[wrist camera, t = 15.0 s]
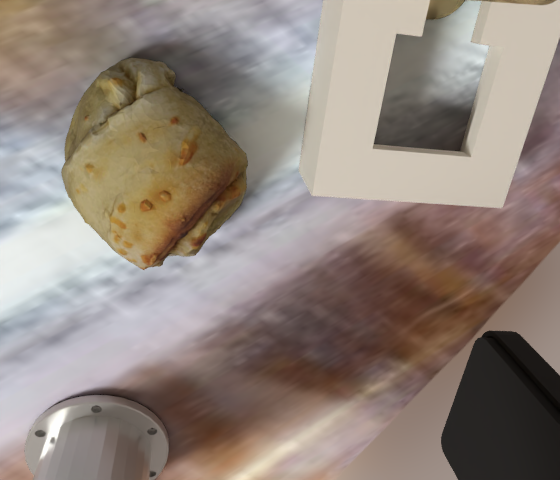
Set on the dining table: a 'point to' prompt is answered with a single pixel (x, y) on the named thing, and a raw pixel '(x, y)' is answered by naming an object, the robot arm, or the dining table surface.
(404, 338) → the dining table surface
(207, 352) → the dining table surface
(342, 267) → the dining table surface
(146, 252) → the pastry
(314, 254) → the dining table surface
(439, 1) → the bolt
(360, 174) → the keyhole box
